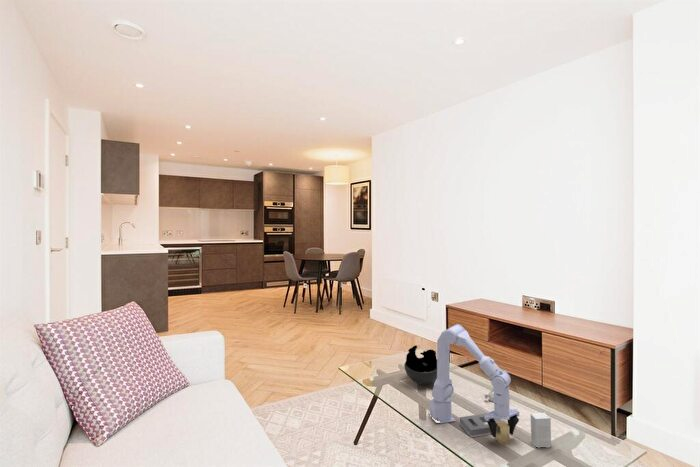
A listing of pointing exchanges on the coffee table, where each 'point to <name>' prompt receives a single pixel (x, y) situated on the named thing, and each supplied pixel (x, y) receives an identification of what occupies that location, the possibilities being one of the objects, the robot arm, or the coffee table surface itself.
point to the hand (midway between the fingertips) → (502, 434)
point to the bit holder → (476, 425)
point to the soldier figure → (491, 396)
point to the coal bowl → (421, 366)
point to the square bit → (502, 432)
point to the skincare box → (541, 429)
